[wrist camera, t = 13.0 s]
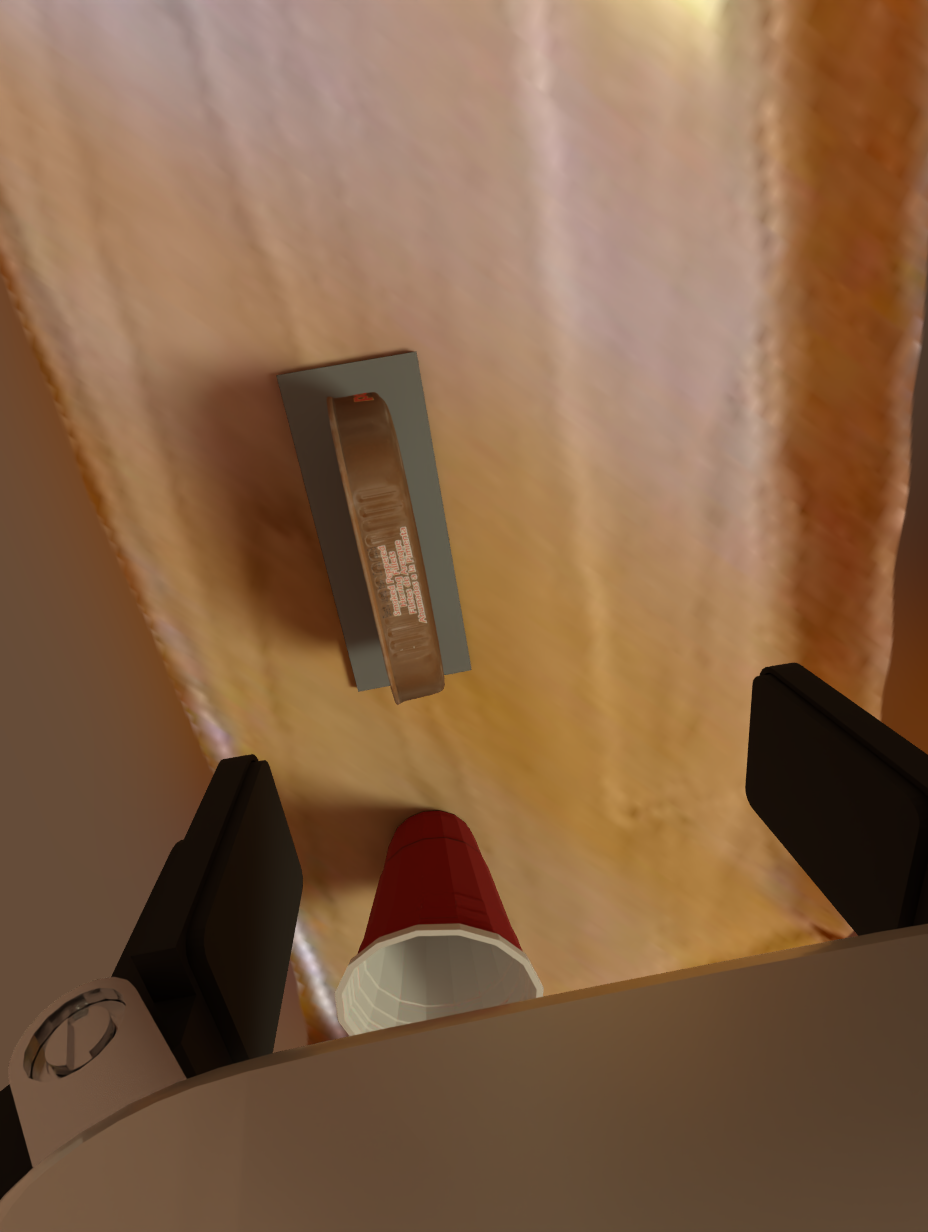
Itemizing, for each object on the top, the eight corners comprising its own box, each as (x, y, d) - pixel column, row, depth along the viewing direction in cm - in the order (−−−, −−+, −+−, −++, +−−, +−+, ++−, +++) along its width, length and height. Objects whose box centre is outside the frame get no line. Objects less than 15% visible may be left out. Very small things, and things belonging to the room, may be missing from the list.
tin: (329, 396, 30) (305, 400, 22) (391, 386, 30) (389, 385, 22) (390, 661, 35) (388, 739, 27) (442, 651, 35) (455, 726, 28)
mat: (278, 375, 29) (276, 375, 29) (416, 352, 30) (416, 351, 29) (358, 687, 36) (358, 691, 36) (470, 666, 36) (471, 669, 36)
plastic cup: (331, 799, 39) (304, 965, 28) (490, 763, 39) (527, 912, 28) (372, 916, 43) (364, 1101, 32) (516, 882, 43) (557, 1054, 32)
